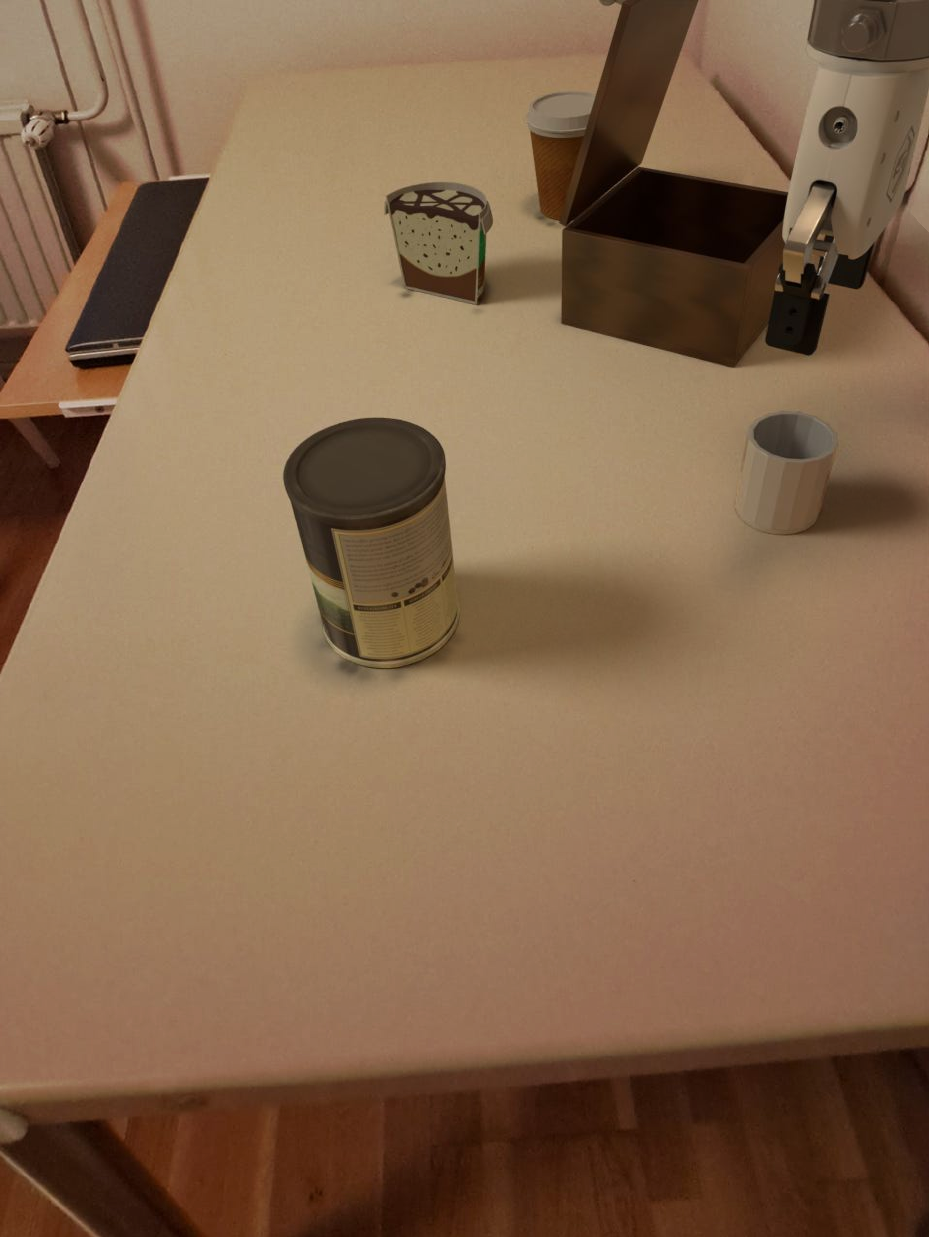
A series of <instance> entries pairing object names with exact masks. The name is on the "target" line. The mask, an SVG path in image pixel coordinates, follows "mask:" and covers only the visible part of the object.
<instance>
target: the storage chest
mask: <svg viewBox="0 0 929 1237" xmlns="http://www.w3.org/2000/svg"><path fill="white" fill-rule="evenodd" d="M788 192H789V191H783V190H778V189H771V188H766V187H760V186H755V185H748V184H743V183H738V182H732V181H725V180H719V179H715V178H707V177H701V176H695V175H689V174H684V173H679V172H673V171H667V170H661V169H655V168H649V167H644V166H638V167H636V168H635V169H634V170H633V171H632V172H630V173H629V174H628V175H627V176H626V177H624V178H623V179H622V180H621V181H620V182H618V183H617V184H616V185H615V186H614V187H612V188H611V189H610V190H609V191H608V192H606V193H605V194H604V195H603V196H602V197H600V198H599V199H598V200H597V201H596V202H594V203H593V204H592V206H590V207H589V208H588V209H587V210H586V211H584V212H583V213H582V214H581V215H580V216H578V217H577V218H576V219H574V220H573V221H572V222H571V223H569V224H568V225H567V226H566V227H565V226H564V228H563V229H562V230H561V238H562V239H561V312H560V313H561V316H560V317H561V318H560V323H561V324H563V325H567V326H570V327H574V328H578V329H582V330H586V331H590V332H594V333H597V334H601V335H605V336H609V337H613V338H617V339H621V340H624V341H628V342H633V343H636V344H640V345H643V346H649V347H652V348H655V349H660V350H664V351H667V352H671V353H676V354H679V355H684V356H688V357H691V358H695V359H698V360H702V361H706V362H711V363H713V364H717V365H723V366H725V367H726V366H727V367H730V368H734V367H735V366H736V365H737V364H738V362H739V361H740V359H741V358H742V357H743V356H744V354H745V353H746V352H747V351H748V350H749V348H750V347H751V346H752V345H753V343H754V342H755V341H756V340H757V338H758V337H759V336H760V334H761V333H762V332H763V331H764V329H765V328H767V326H768V322H769V317H770V312H771V307H772V302H773V296H774V291H775V284H776V280H777V277H778V275H779V274H778V272H779V267H780V264H781V263H783V250H784V246H785V242H784V240H783V237H782V231H783V222H784V215H785V208H786V203H787V197H788Z"/></svg>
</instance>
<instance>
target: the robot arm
mask: <svg viewBox="0 0 929 1237" xmlns="http://www.w3.org/2000/svg"><path fill="white" fill-rule="evenodd" d="M809 21H810V22H809V26H808V32H807V38H806V44H805V47H804V48H805V49H804V50H805V54H806V55H807V57H808V58H810V59H811V60H813V61H814V62H817V63H818V65H817V68H816V73H815V76H814V80H813V83H812V88H811V91H810V96H809V99H808V102H807V104H806V112H805V116H804V120H803V124H802V129H801V133H800V136H799V141H798V145H797V150H796V154H795V159H794V164H793V168H792V172H791V178H790V182H789V187H788V191H787V192H788V197H787V203H786V208H785V215H784V222H783V231H782V237H783V240H784V242H785V246H784V250H783V263H781V264H780V267H779V272H778V274H779V275H778V277H777V280H776V284H775V291H774V296H773V302H772V307H771V312H770V317H769V322H768V324H767V326H766V333H765V339H764V342H765V344H766V345H767V346H768V347H771V348H775V349H779V350H782V351H788V352H791V353H795V354H799V355H802V356H813V354H814V353H815V352H816V351H817V349H818V345H819V341H820V338H821V333H822V330H823V324H824V321H825V317H826V312H827V308H828V303H829V300H830V295H831V294H830V293H826V289H827V286H828V285H833V286H837V287H843V288H847V289H851V290H860V289H861V288H862V287H863V285H864V284H865V281H866V278H867V274H868V270H869V267H870V262H871V259H872V255H873V252H874V247H875V244H876V240H878V238H879V237H880V235H881V234H882V233H883V232H884V230H885V229H886V227H887V226H888V225H889V223H890V222H891V221H892V219H893V218H894V216H896V213H897V212H898V211H899V209H900V206H901V204H902V202H903V199H904V196H905V193H906V189H907V185H908V180H909V176H910V172H911V167H912V164H913V159H914V154H915V151H916V146H917V142H918V137H919V134H920V130H921V125H922V120H923V117H924V112H925V108H926V103H927V99H928V95H929V0H813V4H812V11H811V16H810V20H809ZM819 235H824V239H818V237H819ZM812 255H814V256H819V261H818V265H817V270H816V265H815V263H812V262H811V263H810V261H811V259H812Z"/></svg>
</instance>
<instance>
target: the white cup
mask: <svg viewBox="0 0 929 1237" xmlns="http://www.w3.org/2000/svg"><path fill="white" fill-rule="evenodd" d="M838 447H839V438H838V433H837V431H836V430H835V429H834V427H832V425H831V424H830V423H828V422H827V421H825V420H824V419H821V418H820V417H818V416H816V415H813V414H809V413H805V412H802V411H795V410H794V411H790V410H780V411H775V412H769V413H765V414H763V415H761V416H760V417H758V418H756V419H754V420H753V422H752V423H751V424H750V426H748V428H747V434H746V439H745V444H744V450H743V456H742V460H741V466H740V472H739V475H738V476H739V478H738V482H737V487H736V493H735V503H734V507H735V511H736V513H737V515H738V517H739V518H740V519H741V521H743V522H744V524H746V525H748V526H749V527H751V528H753V529H755V530H757V531H760V532H763V533H766V534H771V535H779V536H781V535H794V534H797V533H801V532H804V531H806V530H808V529H809V528H811V527H812V526H813V525H814V524H815V523H816V522H817V520H818V518H819V514H820V512H821V510H822V506H823V502H824V498H825V495H826V491H827V487H828V484H829V480H830V476H831V472H832V469H833V465H834V461H835V457H836V454H837V451H838Z"/></svg>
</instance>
